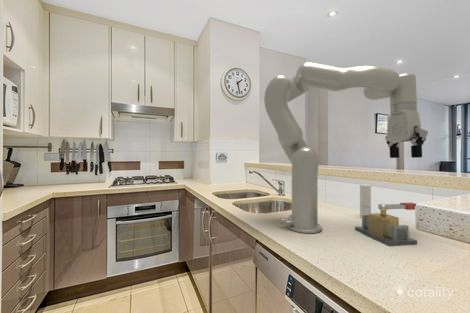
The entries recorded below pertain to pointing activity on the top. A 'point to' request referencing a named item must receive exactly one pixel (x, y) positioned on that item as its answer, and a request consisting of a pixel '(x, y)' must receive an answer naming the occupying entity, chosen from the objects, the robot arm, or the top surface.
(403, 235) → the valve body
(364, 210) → the tube
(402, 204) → the valve lever
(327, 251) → the top surface
